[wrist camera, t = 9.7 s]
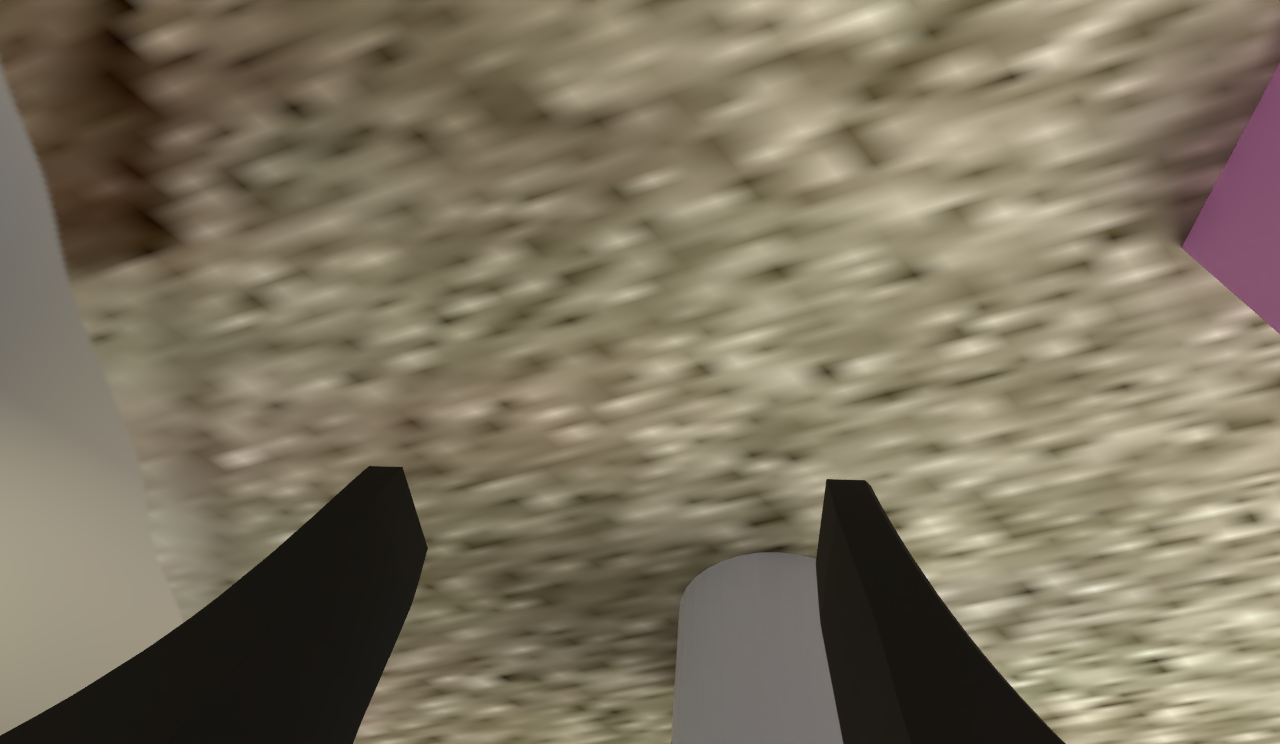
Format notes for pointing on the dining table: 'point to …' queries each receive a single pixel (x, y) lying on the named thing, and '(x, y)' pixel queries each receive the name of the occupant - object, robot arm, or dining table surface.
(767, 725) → the robot arm
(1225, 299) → the dining table surface
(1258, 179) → the bracket
